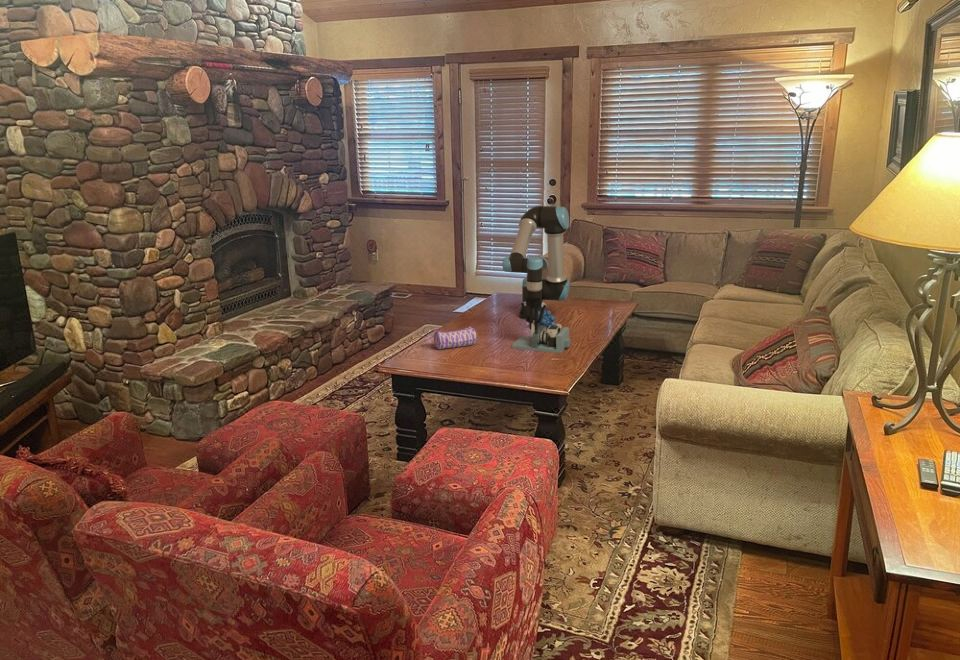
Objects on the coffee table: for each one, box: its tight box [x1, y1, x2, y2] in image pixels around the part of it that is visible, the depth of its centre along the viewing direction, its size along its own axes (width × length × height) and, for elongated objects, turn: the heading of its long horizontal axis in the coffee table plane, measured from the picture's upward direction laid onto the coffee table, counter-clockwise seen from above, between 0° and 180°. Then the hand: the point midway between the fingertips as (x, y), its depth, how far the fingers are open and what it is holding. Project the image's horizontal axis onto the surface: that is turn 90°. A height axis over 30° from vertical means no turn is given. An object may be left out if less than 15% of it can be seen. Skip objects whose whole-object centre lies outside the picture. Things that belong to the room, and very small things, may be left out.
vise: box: [511, 326, 571, 354], centre depth 348 cm, size 16×27×8 cm, turn 70°
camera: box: [541, 323, 563, 348], centre depth 347 cm, size 16×9×10 cm, turn 160°
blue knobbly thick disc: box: [538, 309, 556, 328], centre depth 373 cm, size 12×7×12 cm, turn 69°
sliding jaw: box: [532, 325, 548, 348], centre depth 351 cm, size 22×3×7 cm, turn 160°
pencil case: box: [433, 325, 478, 350], centre depth 349 cm, size 22×9×10 cm, turn 117°
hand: (533, 335), depth 349 cm, fingers closed
